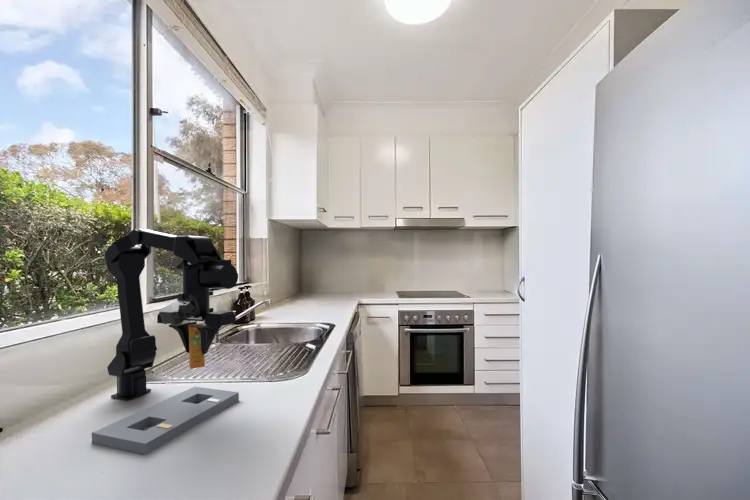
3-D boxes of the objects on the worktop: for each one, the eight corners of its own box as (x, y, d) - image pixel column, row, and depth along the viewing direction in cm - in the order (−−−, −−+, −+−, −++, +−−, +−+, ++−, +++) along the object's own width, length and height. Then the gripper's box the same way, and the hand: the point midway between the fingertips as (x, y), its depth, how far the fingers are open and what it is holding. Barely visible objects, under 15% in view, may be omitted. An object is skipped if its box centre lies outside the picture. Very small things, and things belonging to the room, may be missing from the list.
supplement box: (189, 369, 82) (188, 326, 82) (189, 365, 85) (188, 324, 85) (205, 366, 83) (204, 324, 84) (204, 363, 86) (203, 322, 87)
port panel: (91, 443, 68) (91, 431, 68) (194, 394, 92) (194, 385, 92) (145, 454, 64) (145, 442, 64) (238, 400, 88) (238, 391, 88)
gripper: (135, 290, 80) (135, 359, 80) (200, 292, 74) (201, 366, 74) (177, 286, 90) (177, 347, 90) (237, 287, 85) (237, 352, 84)
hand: (196, 353), depth 84 cm, fingers closed on supplement box, 4 cm apart
